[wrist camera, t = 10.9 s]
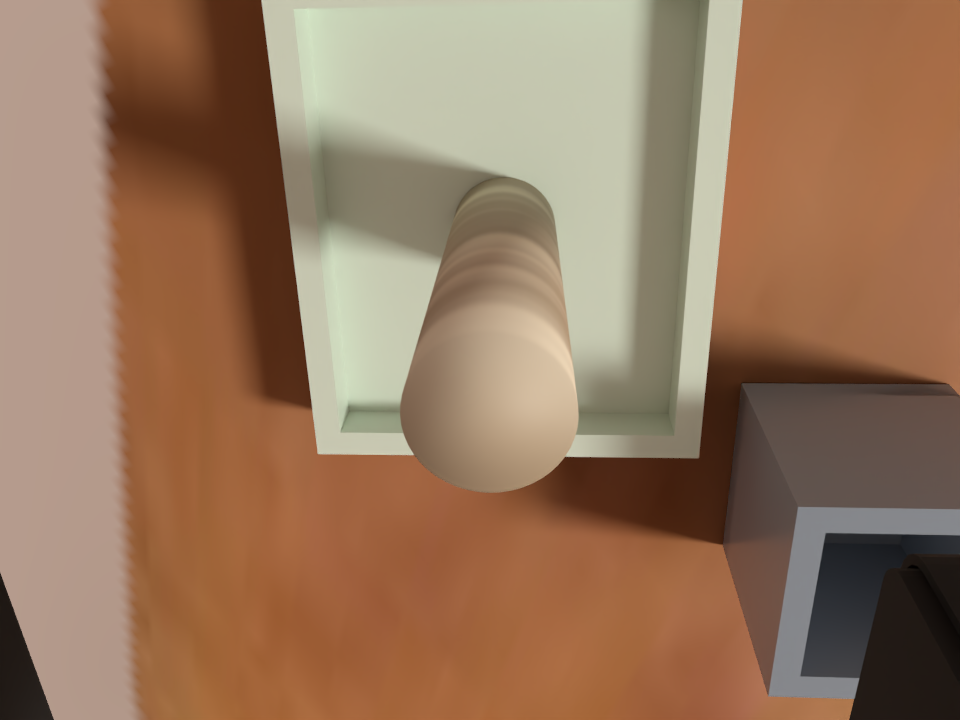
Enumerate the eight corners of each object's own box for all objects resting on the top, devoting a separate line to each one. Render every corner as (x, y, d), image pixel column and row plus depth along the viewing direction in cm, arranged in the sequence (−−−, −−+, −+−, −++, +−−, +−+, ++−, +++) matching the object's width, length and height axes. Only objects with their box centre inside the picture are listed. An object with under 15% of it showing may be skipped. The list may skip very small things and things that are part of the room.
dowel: (452, 177, 25) (395, 332, 14) (557, 177, 25) (582, 334, 14) (454, 276, 26) (403, 490, 15) (553, 277, 26) (575, 494, 15)
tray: (285, -28, 24) (258, -25, 22) (725, -40, 23) (746, -39, 21) (335, 414, 30) (318, 454, 28) (686, 417, 29) (698, 458, 27)
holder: (741, 383, 29) (798, 506, 22) (948, 384, 28) (1066, 510, 22) (722, 545, 31) (768, 696, 25) (910, 548, 31) (1005, 703, 25)
